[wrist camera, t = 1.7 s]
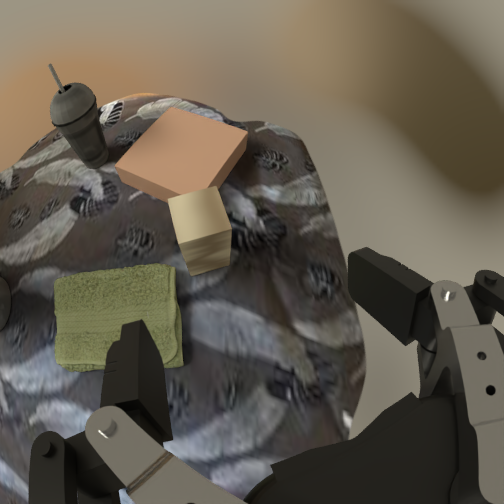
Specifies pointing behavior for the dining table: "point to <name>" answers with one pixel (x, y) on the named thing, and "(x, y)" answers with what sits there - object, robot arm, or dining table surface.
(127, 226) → the dining table surface
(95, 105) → the beverage cup
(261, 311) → the dining table surface
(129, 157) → the terracotta plinth
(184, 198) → the birch block
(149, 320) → the washcloth
